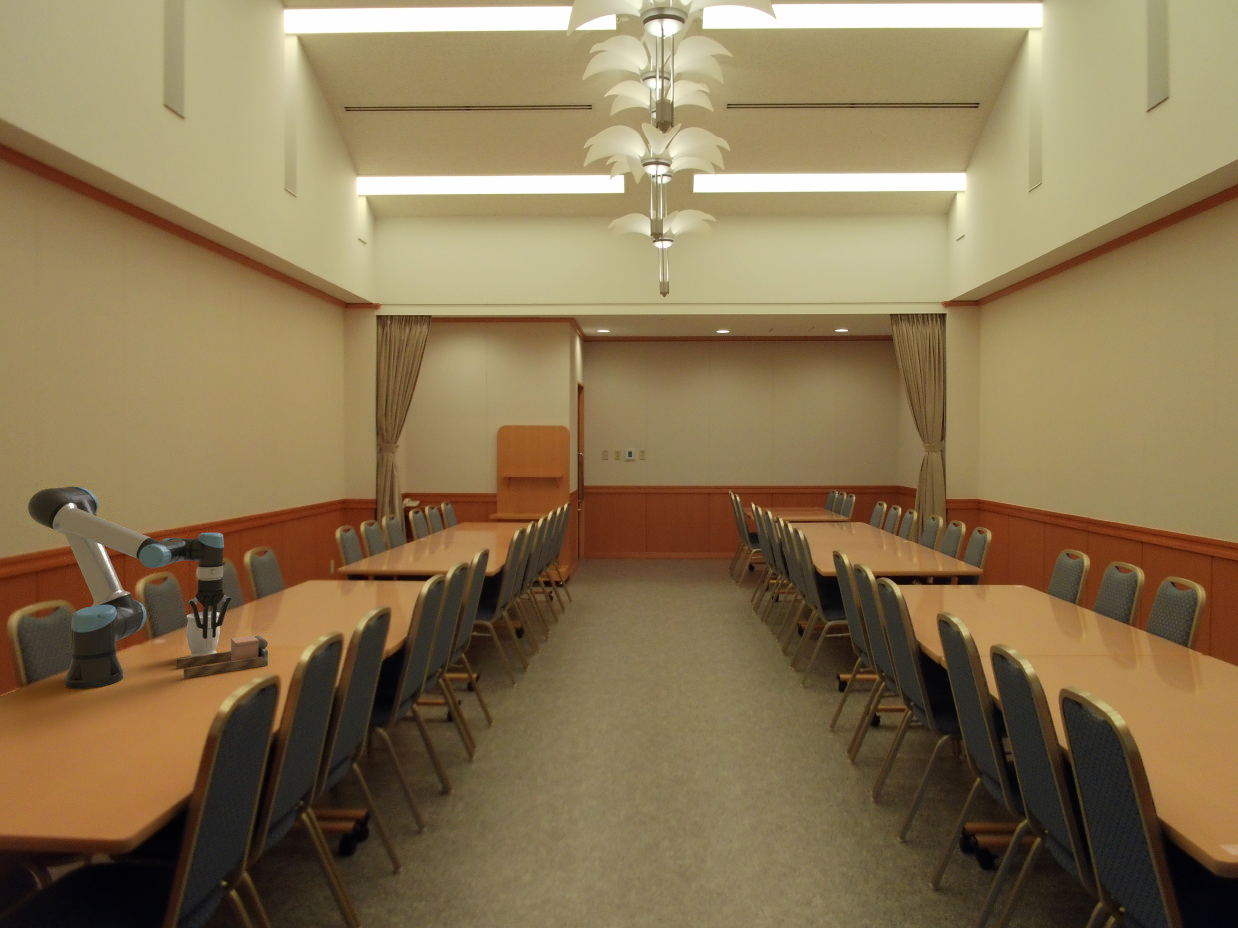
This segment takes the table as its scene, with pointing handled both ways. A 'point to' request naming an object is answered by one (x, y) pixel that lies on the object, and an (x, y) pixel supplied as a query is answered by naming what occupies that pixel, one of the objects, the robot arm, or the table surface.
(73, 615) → the robot arm
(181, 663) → the bay
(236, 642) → the pink block
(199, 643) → the jar
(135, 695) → the table surface
